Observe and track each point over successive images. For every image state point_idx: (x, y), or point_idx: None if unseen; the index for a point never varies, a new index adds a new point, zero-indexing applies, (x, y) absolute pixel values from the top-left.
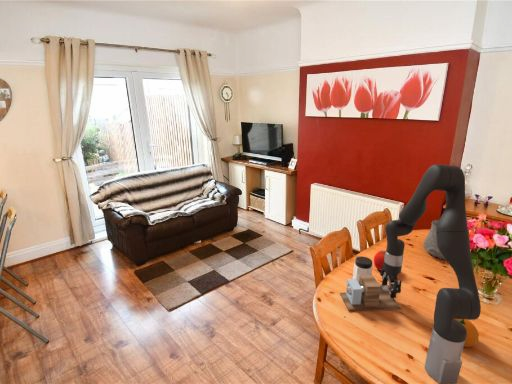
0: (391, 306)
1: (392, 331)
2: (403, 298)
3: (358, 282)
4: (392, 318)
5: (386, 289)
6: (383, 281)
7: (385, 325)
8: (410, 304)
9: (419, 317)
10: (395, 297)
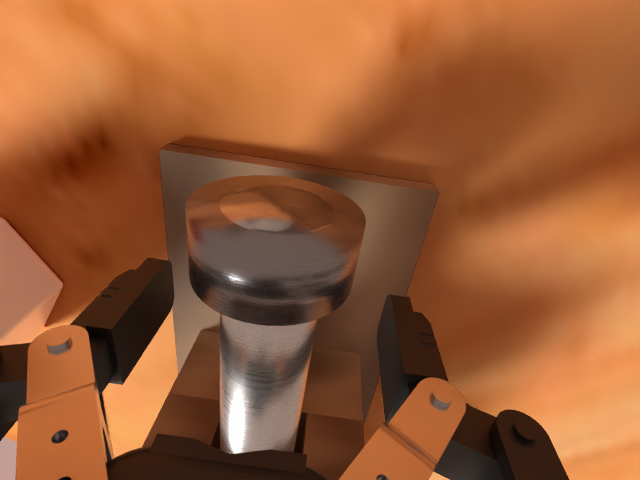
0: (393, 263)
1: (593, 375)
2: (278, 18)
3: (39, 326)
4: (495, 310)
5: (303, 392)
6: (133, 363)
7: (527, 381)
8: (399, 5)
9: (617, 64)
10: (425, 319)
